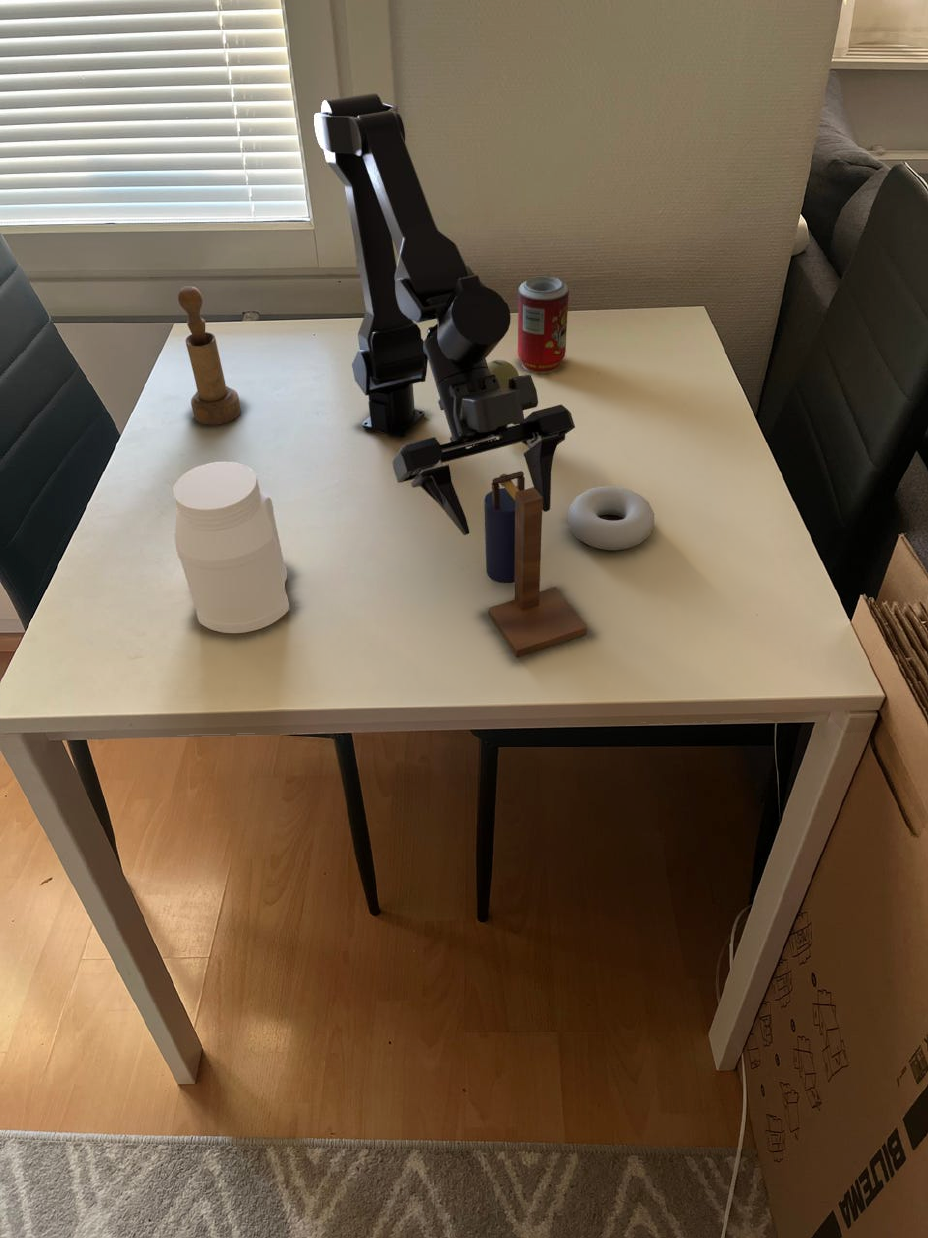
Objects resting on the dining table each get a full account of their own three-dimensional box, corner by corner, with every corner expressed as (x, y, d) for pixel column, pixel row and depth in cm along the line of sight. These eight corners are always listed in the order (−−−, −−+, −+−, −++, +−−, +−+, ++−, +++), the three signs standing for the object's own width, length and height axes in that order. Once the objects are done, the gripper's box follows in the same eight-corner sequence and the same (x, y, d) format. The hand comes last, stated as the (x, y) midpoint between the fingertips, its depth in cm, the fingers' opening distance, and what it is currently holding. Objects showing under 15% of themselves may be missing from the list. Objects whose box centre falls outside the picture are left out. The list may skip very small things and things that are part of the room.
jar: (290, 626, 98) (265, 513, 87) (198, 640, 97) (162, 526, 86) (286, 558, 106) (262, 447, 95) (201, 570, 105) (168, 458, 94)
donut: (643, 564, 103) (660, 511, 110) (646, 540, 101) (663, 487, 108) (557, 547, 106) (578, 496, 113) (558, 524, 103) (579, 473, 110)
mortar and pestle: (230, 426, 127) (200, 301, 114) (186, 423, 128) (152, 297, 115) (248, 402, 131) (221, 278, 119) (205, 398, 132) (174, 275, 120)
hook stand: (469, 585, 102) (465, 471, 91) (534, 565, 104) (537, 451, 93) (516, 657, 93) (518, 541, 83) (586, 634, 95) (596, 518, 85)
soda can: (559, 377, 134) (563, 296, 125) (512, 372, 135) (512, 291, 127) (569, 354, 138) (573, 274, 130) (523, 350, 140) (524, 270, 132)
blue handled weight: (480, 565, 102) (475, 466, 93) (516, 554, 103) (515, 455, 94) (496, 588, 99) (493, 487, 90) (533, 576, 100) (534, 476, 91)
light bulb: (471, 437, 123) (469, 368, 116) (486, 416, 127) (485, 348, 120) (511, 444, 121) (511, 376, 114) (525, 423, 125) (526, 355, 118)
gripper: (392, 373, 85) (442, 534, 86) (571, 331, 90) (618, 484, 91) (373, 408, 96) (417, 551, 96) (533, 368, 101) (576, 504, 101)
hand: (507, 522), depth 96 cm, fingers open, 9 cm apart
